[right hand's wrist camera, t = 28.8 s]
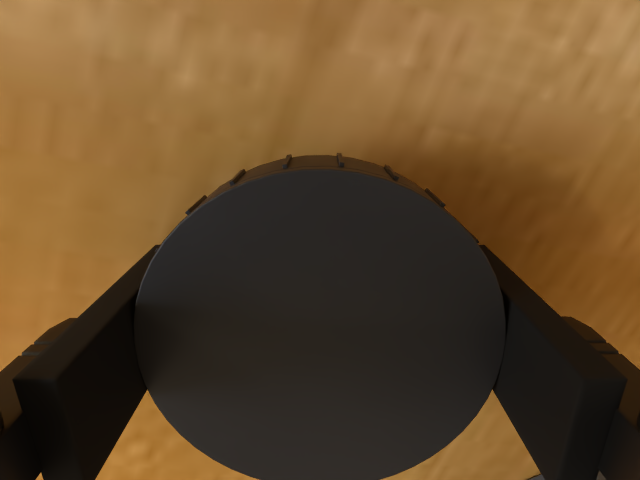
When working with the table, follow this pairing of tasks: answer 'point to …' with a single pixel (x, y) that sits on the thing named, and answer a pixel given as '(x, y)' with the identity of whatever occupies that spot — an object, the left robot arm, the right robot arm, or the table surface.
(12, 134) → the table surface
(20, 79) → the table surface
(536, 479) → the jar
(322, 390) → the lid
